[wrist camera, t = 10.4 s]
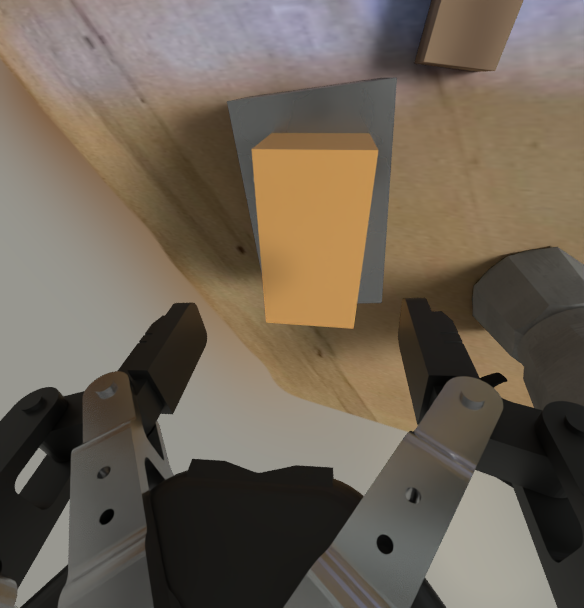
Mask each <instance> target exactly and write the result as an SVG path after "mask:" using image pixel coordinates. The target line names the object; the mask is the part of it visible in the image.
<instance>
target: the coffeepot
mask: <svg viewBox="0 0 584 608" xmlns="http://www.w3.org/2000/svg"><path fill="white" fill-rule="evenodd" d="M472 302H473V317H474V318H475V319H476V320H477V321H478V322H479V323H480V324H481V325H482V326H483V327H484V328H485V329H486V330H487V331H488V332H489V333H490V335H491V336H492V337H493V338H494V339H495V340H496V341H497V342H498V343H499V344H500V345H501V346H502V347H503V348H504V349H505V350H506V351H507V353H508V354H509V355H510V356H512V357H513V358H514V359H516V360H517V361H518V362H520V363H522V365H523V366H524V377H523V379H524V382H525V385H526V387H527V390H528V393H529V395H530V398H531V401H532V403H533V406H534V408H535V409H539V410H543V409H544V407H545V406H546V405H547V404H549V403H551V402H555V401H567V402H572V403H576V404H579V405H582V406H584V265H583V264H582V263H580V262H579V261H578V260H576V259H575V258H573V257H572V256H570V255H569V254H567V253H566V252H564V251H563V250H561V249H560V248H558V247H552V248H543V249H534V250H528V251H524V252H520V253H517V254H515V255H510V256H507V257H505V258H504V259H503V260H501V261H500V262H498V263H497V264H496V265H494V266H493V267H492V268H490V269H489V270H488V271H487V272H486V273H485V274H484V275H483V276H482V277H481V279H480V280H479V282H477V283H476V284H475V285H474V290H473V297H472ZM480 380H482V381H484V382H486V383H487V384H489V385H490V386H492V387H493V388H494V387H495V386H497V385H499V384H501V383H503V382H507V379H506V378H505V377H504V376H503V375H502V374H500V373H493V374H490V375H487V376H484V377H481V378H480ZM498 479H500V478H498ZM500 480H501V481H503V482H505V483H506V484H508V485H509V486H511V487H513V485H512V483H511V482H508V481H505V480H502V479H500Z"/></svg>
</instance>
